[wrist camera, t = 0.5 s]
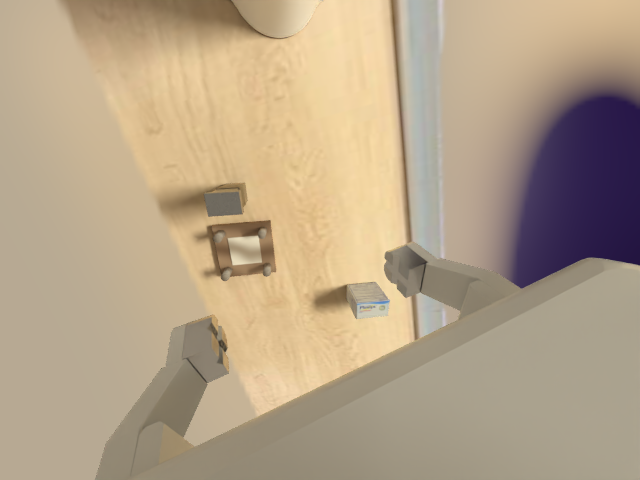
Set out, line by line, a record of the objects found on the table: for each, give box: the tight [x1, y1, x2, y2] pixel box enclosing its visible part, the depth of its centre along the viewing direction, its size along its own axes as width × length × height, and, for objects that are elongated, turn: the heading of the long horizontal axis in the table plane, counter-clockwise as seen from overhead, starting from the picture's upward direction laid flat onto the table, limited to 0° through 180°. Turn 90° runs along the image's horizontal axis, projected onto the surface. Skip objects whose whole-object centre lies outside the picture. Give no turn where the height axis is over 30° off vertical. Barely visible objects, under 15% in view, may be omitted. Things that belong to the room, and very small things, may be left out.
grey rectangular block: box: [204, 183, 247, 217], centre depth 43 cm, size 4×5×13 cm
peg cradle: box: [211, 220, 276, 281], centre depth 51 cm, size 12×12×5 cm
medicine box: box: [346, 282, 390, 319], centre depth 58 cm, size 8×4×9 cm, turn 90°
